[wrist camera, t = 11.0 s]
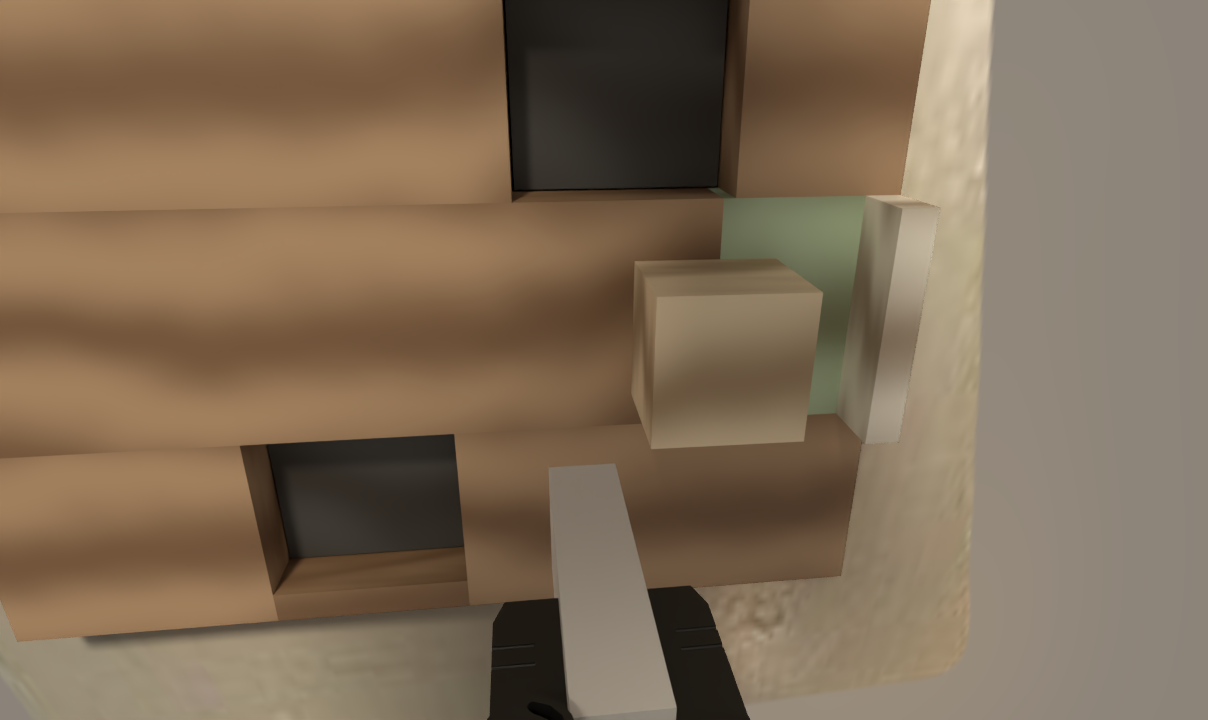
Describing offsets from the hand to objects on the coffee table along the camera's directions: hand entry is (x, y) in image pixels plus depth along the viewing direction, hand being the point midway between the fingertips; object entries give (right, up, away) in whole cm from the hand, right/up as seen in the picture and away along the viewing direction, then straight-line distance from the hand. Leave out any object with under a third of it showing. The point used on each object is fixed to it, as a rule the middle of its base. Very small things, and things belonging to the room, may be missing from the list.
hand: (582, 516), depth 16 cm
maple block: (+5, +5, +14) cm, 16 cm away
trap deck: (-7, +6, +16) cm, 18 cm away
